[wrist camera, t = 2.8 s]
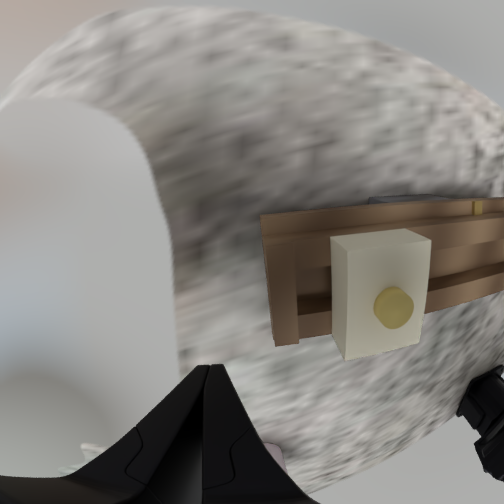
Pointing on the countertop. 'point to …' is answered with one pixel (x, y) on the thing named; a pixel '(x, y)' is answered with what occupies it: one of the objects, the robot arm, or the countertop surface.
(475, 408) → the robot arm
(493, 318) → the countertop surface
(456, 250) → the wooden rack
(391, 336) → the block
